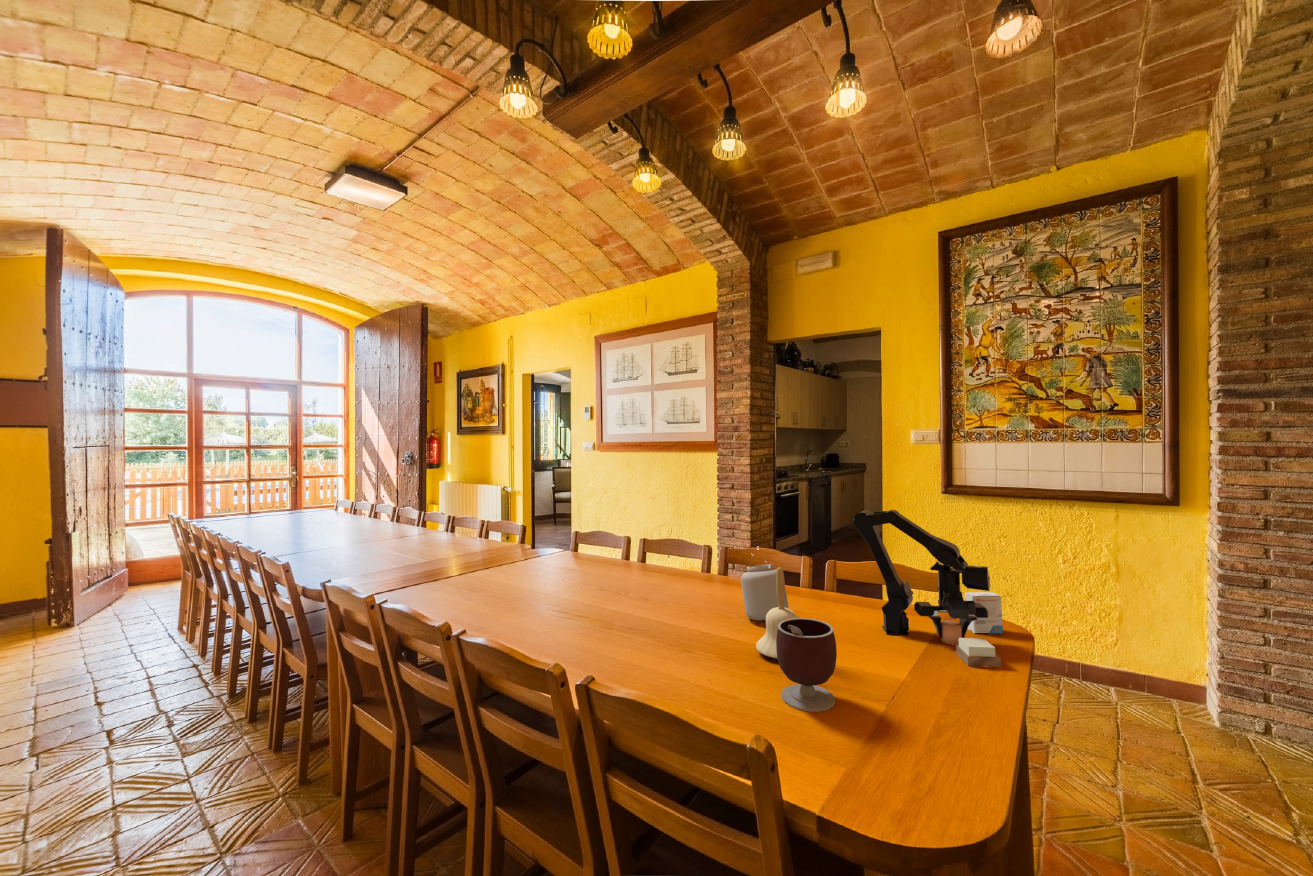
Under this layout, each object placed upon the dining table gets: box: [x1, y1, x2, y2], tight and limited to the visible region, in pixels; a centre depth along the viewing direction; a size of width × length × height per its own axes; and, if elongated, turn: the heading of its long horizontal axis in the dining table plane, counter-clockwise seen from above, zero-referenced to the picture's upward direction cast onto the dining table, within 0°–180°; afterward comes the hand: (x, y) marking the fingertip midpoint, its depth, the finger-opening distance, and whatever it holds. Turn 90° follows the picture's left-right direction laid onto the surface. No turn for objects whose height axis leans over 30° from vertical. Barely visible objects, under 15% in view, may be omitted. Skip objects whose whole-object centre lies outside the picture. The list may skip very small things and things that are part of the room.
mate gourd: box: [776, 617, 838, 713], centre depth 123 cm, size 16×14×20 cm
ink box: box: [964, 591, 1004, 635], centre depth 162 cm, size 9×5×12 cm, turn 84°
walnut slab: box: [955, 645, 1002, 668], centre depth 141 cm, size 8×8×3 cm
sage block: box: [959, 637, 996, 657], centre depth 141 cm, size 6×6×2 cm
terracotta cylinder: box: [940, 619, 962, 646], centre depth 155 cm, size 6×6×6 cm
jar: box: [740, 545, 790, 621], centre depth 181 cm, size 19×15×25 cm
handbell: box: [755, 566, 798, 660], centre depth 150 cm, size 15×15×25 cm
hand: (951, 638), depth 155 cm, fingers closed on terracotta cylinder, 5 cm apart
